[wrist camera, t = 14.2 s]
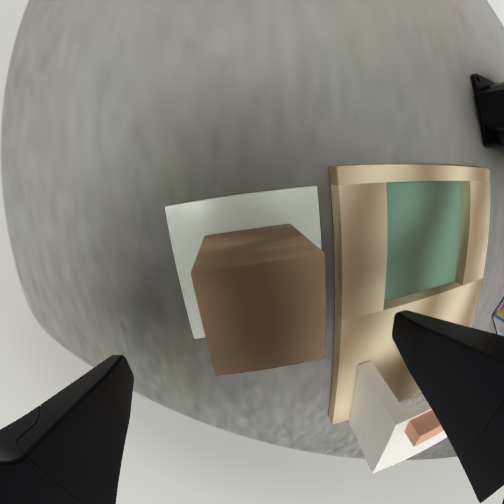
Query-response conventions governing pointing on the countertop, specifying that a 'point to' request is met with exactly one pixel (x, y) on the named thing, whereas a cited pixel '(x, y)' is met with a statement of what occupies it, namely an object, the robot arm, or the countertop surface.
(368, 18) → the countertop surface
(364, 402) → the panel
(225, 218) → the coaster pad
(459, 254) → the puzzle board
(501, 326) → the ink cartridge box
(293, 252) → the walnut block
